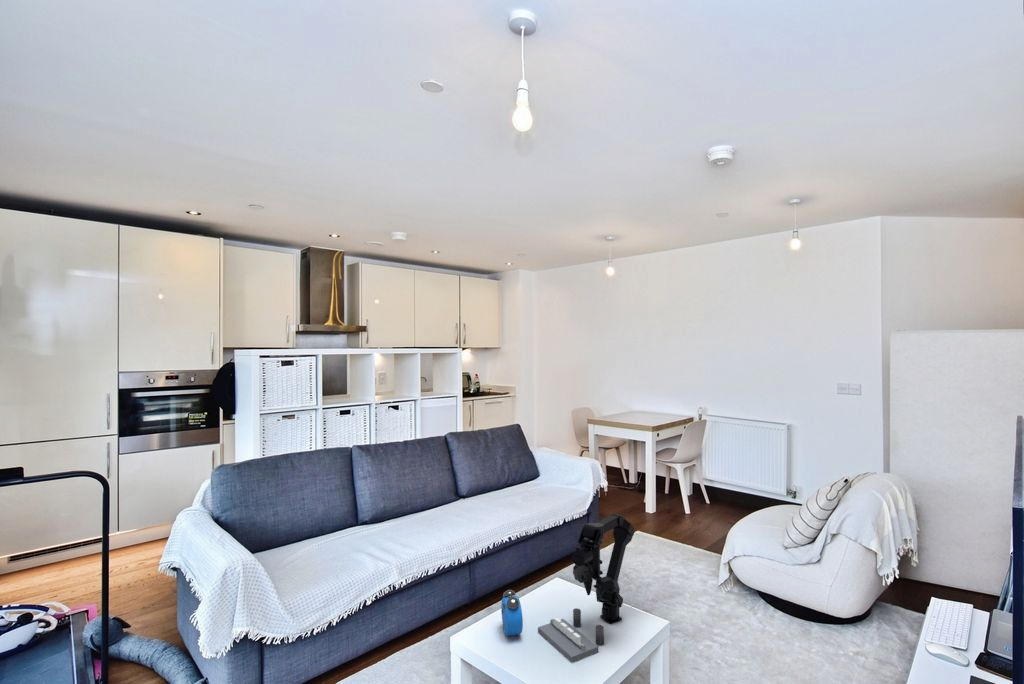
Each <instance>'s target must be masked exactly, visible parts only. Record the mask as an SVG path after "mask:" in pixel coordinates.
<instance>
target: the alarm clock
mask: <svg viewBox="0 0 1024 684" xmlns="http://www.w3.org/2000/svg"><path fill="white" fill-rule="evenodd" d="M500 607H501V608H500V609H501V620H502V621H501V622H502V628H503V632H504V634H505V636H507V637H508V636H515V635H517V636H518V637H520V635H521V634H522V633H523V628H524V627H523V625H524V622H523V620H524V618H523V610H522V604H521V601H520V598H519V597H518V596H517V595H516V592H515V591H514V590H512V589H508V590H506V591H504V592H503V596H502V598H501V605H500Z"/></svg>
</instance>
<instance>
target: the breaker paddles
mask: <svg viewBox="0 0 1024 684" xmlns="http://www.w3.org/2000/svg"><path fill="white" fill-rule="evenodd" d="M553 619H554V621H553V622H552V624H553V625H554V626H555V627H556V628H558V629H559V630H560V631H561V632H562V633H564V634H565V635H566V636H567V637H568V638H570V639H571V640H572V641H573V642H574V643H576V644H577V645H578V646H579V647H580V648H581V636H580V635H578V634H577V633H576V632H575V633H574V631H573V630H572V629H571V628H570V627H568V626H567V625H566V624H565V623H563V622H562V621H561V619H560V618H558V617H555V618H553Z"/></svg>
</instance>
